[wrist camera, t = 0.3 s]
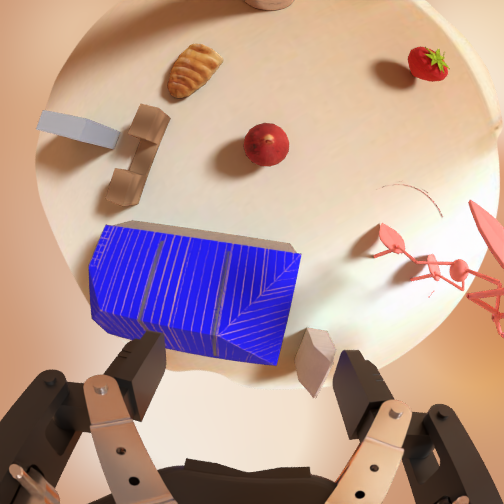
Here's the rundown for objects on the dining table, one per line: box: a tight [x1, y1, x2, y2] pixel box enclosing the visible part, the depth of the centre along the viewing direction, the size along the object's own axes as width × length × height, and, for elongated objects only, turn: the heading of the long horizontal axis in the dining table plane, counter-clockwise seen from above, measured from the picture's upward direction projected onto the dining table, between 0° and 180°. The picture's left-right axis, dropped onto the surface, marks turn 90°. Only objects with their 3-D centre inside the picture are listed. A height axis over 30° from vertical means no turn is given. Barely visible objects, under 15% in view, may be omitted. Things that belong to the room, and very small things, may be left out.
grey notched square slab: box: [36, 110, 120, 149], centre depth 31 cm, size 10×3×10 cm, turn 68°
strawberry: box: [408, 47, 450, 82], centre depth 28 cm, size 6×8×10 cm
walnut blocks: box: [106, 104, 171, 206], centre depth 34 cm, size 14×3×6 cm, turn 158°
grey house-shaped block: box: [294, 327, 336, 398], centre depth 39 cm, size 4×7×10 cm, turn 165°
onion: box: [244, 123, 289, 166], centre depth 33 cm, size 6×6×8 cm
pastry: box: [167, 44, 223, 98], centre depth 32 cm, size 9×7×4 cm
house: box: [89, 220, 301, 366], centre depth 34 cm, size 25×16×16 cm, turn 81°
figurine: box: [374, 181, 504, 338], centre depth 22 cm, size 15×26×35 cm, turn 63°
